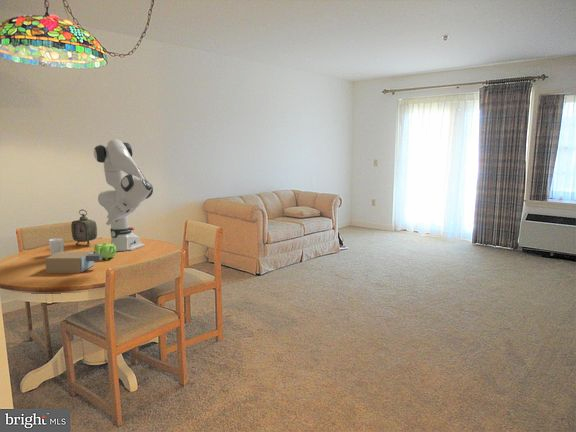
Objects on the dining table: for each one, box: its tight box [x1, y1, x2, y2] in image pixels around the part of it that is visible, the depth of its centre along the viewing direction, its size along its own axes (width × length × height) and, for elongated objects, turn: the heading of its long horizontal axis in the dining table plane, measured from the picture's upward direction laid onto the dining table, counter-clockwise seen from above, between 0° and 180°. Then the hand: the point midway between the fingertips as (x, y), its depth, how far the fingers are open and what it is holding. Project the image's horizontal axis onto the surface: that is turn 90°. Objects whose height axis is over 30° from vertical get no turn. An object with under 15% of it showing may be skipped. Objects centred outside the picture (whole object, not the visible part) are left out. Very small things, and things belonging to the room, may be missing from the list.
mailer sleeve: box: [44, 251, 92, 274], centre depth 223 cm, size 18×14×8 cm
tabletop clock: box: [70, 209, 98, 247], centre depth 278 cm, size 14×9×25 cm, turn 68°
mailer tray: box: [80, 251, 103, 273], centre depth 223 cm, size 25×14×8 cm, turn 92°
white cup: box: [48, 237, 65, 256], centre depth 252 cm, size 8×8×10 cm
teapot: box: [93, 242, 118, 261], centre depth 245 cm, size 12×12×10 cm
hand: (111, 223), depth 220 cm, fingers open, 8 cm apart
